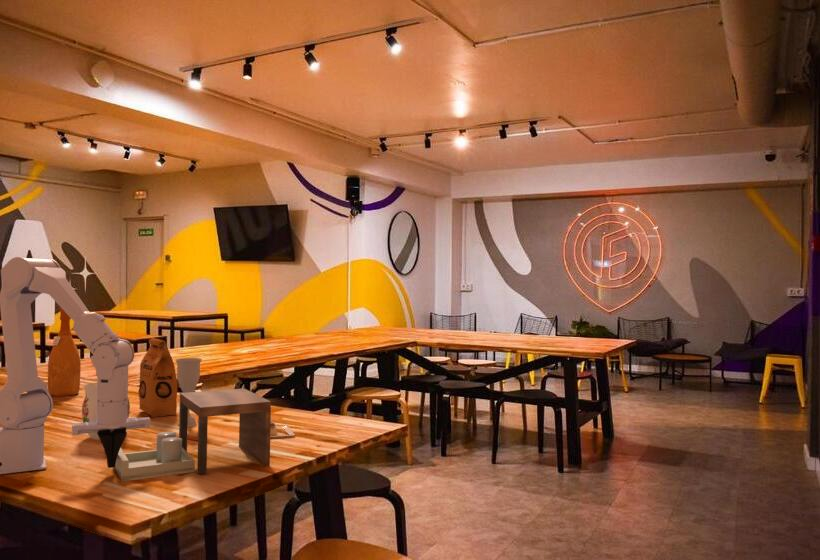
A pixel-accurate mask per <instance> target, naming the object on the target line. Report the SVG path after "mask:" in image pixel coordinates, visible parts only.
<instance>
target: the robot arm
mask: <svg viewBox="0 0 820 560" xmlns="http://www.w3.org/2000/svg"><path fill="white" fill-rule="evenodd" d="M0 277H1V288H0V317H1V318H0V319H1V326H2V327H1V328H2V339H3V345H4V346H3V347H4V356H5V367H6V379H7V382H5V384H4V385H2V387H1V388H0V424H1V427H0V475H6V474H14V473H22V472H31V471H40V470H41V471H42V470H46V469H47V462H46V461H47V460H46V458H45V457H44V455H45V423H46V422H47V417H49V416H50V414H51V413H52V411H53V408H54V401H53V398H52V395H50V394H49V392H48V383H46V382H45V381H44V380H42V379H41V378H40V377H39V374H38V373H39V372H38V364H37V355H36V354H37V353H36V344H35V335H34V327H33V325H34V324H33V316H32V308H31V307H32V306H31V304H32V303H33V302H34V301H35V300H36V299H37V298H38V297H39V296H40V295H43V294H46V295H49V296H50V297H51V298H52V299H53V301H55V303H56V304H57V305H58V306H59V308H62V309H63V310H64V311H65V312H66V313H67V314H68V315H69V317H70V318H71V319H70V320H72V321H73V324H72V325H73V326H72V330H73V332H74V333H75V334H76V336H77V337H78V338H79V339H80V340H81V342H82V343H83V344H84V346H85V347H86V348H87V349H88V350H89V352H90V353H91V354H92V355H91V356H90V360H91V364H92V366H93V367H94V369H95V376H96V379H97V380H96V381H97V421H91V422H85V423H83V422H78V423H71V435H72V436H79V435H82V434H83V435H84V434H88V433H96V432H97V434H98V436H99V438H100V440H99V441H100V442H101V445H102V447H103V449H104V454H105V458H106V465H107V468H108V469H112V468H115V464H116V459H117V456H118V453H119V450H120V448H121V449H122V445H123V443H124V442H125V440H126V437H127V433H128V432H127V430H134V429H135V430H137V429H151V418H150V417H149V416H148V417H147V416H146V417H129V418H127V407H128V398H129V386H128V383H129V366H130V365H132V363H133V361H134V359H135V350H134V347H133V346H132V344H131V341H129V340H127V339H122V338H120V336H119V335H118V334H117V333H115V331H113V329H112V328H111V327H110V326H109V324H108V323H107V322H106V317H105V316H104V314H99V313H98V312H95V311H93V312H92V311H89V309H88V308H87V307H86V304H85V303H84V302H83V301H82V299H81V298H80V296H79V295H78V294H77V292H76V290H75V289H74V288H73V286H72V285H71V284H70V282H69V281H68V279H67V273H66V271H65V270H64V269H63V268H61V265H60V264H59V263H58V261H56V260H55V259H52V258H31V257H29V258H28V257H21V256H16V257H13V258H11V259H9V260H8V261H7V262H6V264H4V266H3V267H2V268H1V269H0Z"/></svg>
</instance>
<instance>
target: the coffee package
mask: <svg viewBox="0 0 820 560" xmlns="http://www.w3.org/2000/svg"><path fill="white" fill-rule="evenodd" d="M148 344H149V345H150V346H149V348H148V350H147V351H146V352H145V354H144V356H143V358H142V359H141V360H140V363H139V364H140V365H139V389H138V390H137V391H138V393H137V394H138V395H137V396H138V399H139V410H141V411H143V412H144V413H146V414H147V415H149V416H151V417H153V418H156V417H165V416H167V417H168V416H174V415H175V416H177V411H178V410H177V409H178V405H177V401H178V400H177V399H178V398H177V397H178V379H177V372H176V368H175V367H176V366H175V363H174V360H173V358H172V357H173V356H172V355H171V353H170V350H169V348H168V345H167V343H166V341H165V340H162V339H158V338H154V337H152V338H150V339H149V340H148Z"/></svg>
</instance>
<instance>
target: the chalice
mask: <svg viewBox="0 0 820 560" xmlns="http://www.w3.org/2000/svg"><path fill="white" fill-rule="evenodd" d="M175 362H176V366H177V367H176V379H177V383H178V386H179V387H180V389H181V392H182V393H187V392H195V389H196V387H197V385H198V383H199V380H200V377H201V362H202V358H200V357H198V358H197V357H184V358H177V359H175ZM190 411H191V410H190V409H189V408H188V424H187V428H191V427H196V426H198V423H197V421H196V418H195V416H193V415H191V413H190ZM177 426H178V427H179V423H178V424H177Z"/></svg>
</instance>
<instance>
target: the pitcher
mask: <svg viewBox="0 0 820 560" xmlns="http://www.w3.org/2000/svg"><path fill="white" fill-rule="evenodd" d="M128 387H129V382H128ZM83 389H84V395H85V396H84V400H83V402H82V407H81V418H82V423H85V422H91V421H97V382H92V383H91V382H90V383H86V384H84V385H83ZM130 406H131V405H130V397H128V407H127V418H130V413H131V412H130V411H131V410H130V409H131V408H130ZM87 435H88V436H89V437H90V439H92V440H95V441H101V440H100V438H99V436H98V434H97V432H96V433H87Z"/></svg>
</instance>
